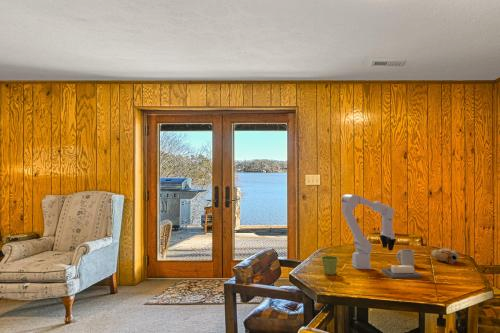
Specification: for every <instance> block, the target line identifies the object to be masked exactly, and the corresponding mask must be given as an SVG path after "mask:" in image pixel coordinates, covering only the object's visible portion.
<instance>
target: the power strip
mask: <svg viewBox="0 0 500 333" xmlns="http://www.w3.org/2000/svg"><path fill="white" fill-rule="evenodd" d="M390 269H391V272H393V273H394V274H399V273H414V271H415V266H412V265H401V264H400V265H397V264H395V265H394V264H393V265H392V264H390Z"/></svg>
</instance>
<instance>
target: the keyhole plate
mask: <svg viewBox="0 0 500 333" xmlns="http://www.w3.org/2000/svg"><path fill="white" fill-rule="evenodd" d="M381 273H383V274H384V275H386V276H388V277H389V278H390V279H413V278H414V279H416V278H417V279H418V278H422V274H421V273H419V272H417V271H415V270H414V273H399V274H394V273H393V272H391V268H381Z"/></svg>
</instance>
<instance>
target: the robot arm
mask: <svg viewBox="0 0 500 333" xmlns="http://www.w3.org/2000/svg"><path fill="white" fill-rule="evenodd" d="M340 202H341V213H342V214H343V217H344V219H345V221H346V223H347V225H348V227H349V230H350V231H351V234H352V235H353V237H354V239H353V242H354V243H353V244H354V247H355V249H356V251H355V252H353V253H352V264H351V265H352V267H353V268H354V269H356V270H373V269H374V268H373V267H372V266H371V265H370V264H371V252H372V250H373V245H372V243H371V242H370V241H369V240H368V239H367V237H366V236H364V234H363V231H362V229H361V227H360V225H359V223H358V221H357V219H356V217H355V214H354V213H353V212H354V211H355V208H356V207H357V206H358V205H363V206H366V207H369V208H370V209H371V210H372V211H374V212H376V213H379V214H380V215H381V224H382V225H381V226H382V228H381V231H380V235H378V237H379V238H380V241H381V242H380V243H381V245H382V248H384V249H388V251H389V252H390V251H393V250H394V247H395V244H396V242H397V238H396V236H395V233H394V232H393V218H394V215H395V211H394V208H393V207H392V206H387V204H386V203H381V201H380V200H375V201H372V200H369V199H368V198H365V197H363V196H360V195H357V194H349V193H345V194H344V195H342V197H341V201H340Z"/></svg>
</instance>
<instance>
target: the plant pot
mask: <svg viewBox="0 0 500 333" xmlns="http://www.w3.org/2000/svg"><path fill="white" fill-rule="evenodd" d="M320 259H321V261H322V265H323V266H322V267H323V273H324V274H325V275H328V276H329V275H330V276H334V275H336V273H337V266H338V265H337V264H338V261H339V257H338V256H333V255H324V256H323V255H322V256H321V257H320Z"/></svg>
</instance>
